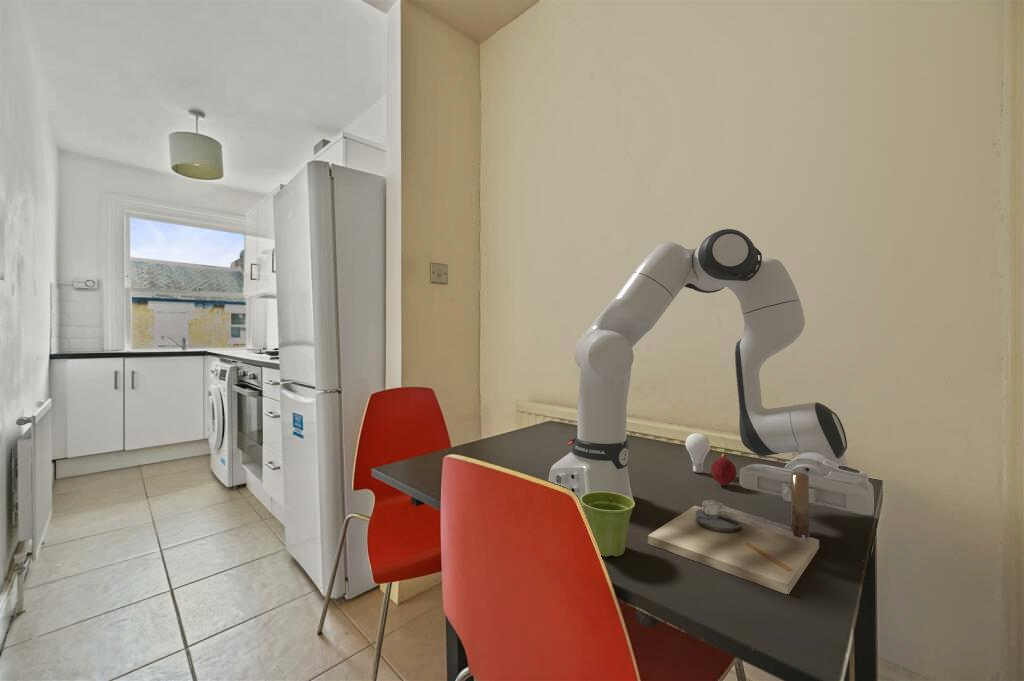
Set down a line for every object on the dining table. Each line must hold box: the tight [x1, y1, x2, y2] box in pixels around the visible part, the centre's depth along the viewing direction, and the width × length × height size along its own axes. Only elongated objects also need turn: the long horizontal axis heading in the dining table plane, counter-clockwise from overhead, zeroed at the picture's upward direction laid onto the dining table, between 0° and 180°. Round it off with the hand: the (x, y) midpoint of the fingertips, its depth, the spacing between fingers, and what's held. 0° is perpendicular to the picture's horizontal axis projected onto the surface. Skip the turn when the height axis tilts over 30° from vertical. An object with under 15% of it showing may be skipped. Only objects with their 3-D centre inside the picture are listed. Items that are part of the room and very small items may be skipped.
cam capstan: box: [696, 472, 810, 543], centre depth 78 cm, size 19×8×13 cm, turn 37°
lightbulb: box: [684, 432, 711, 474], centre depth 120 cm, size 6×6×11 cm
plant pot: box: [580, 492, 636, 558], centre depth 76 cm, size 9×9×9 cm
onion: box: [710, 453, 738, 487], centre depth 109 cm, size 6×6×8 cm
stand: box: [647, 505, 820, 595], centre depth 77 cm, size 22×20×2 cm
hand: (792, 498), depth 73 cm, fingers closed
